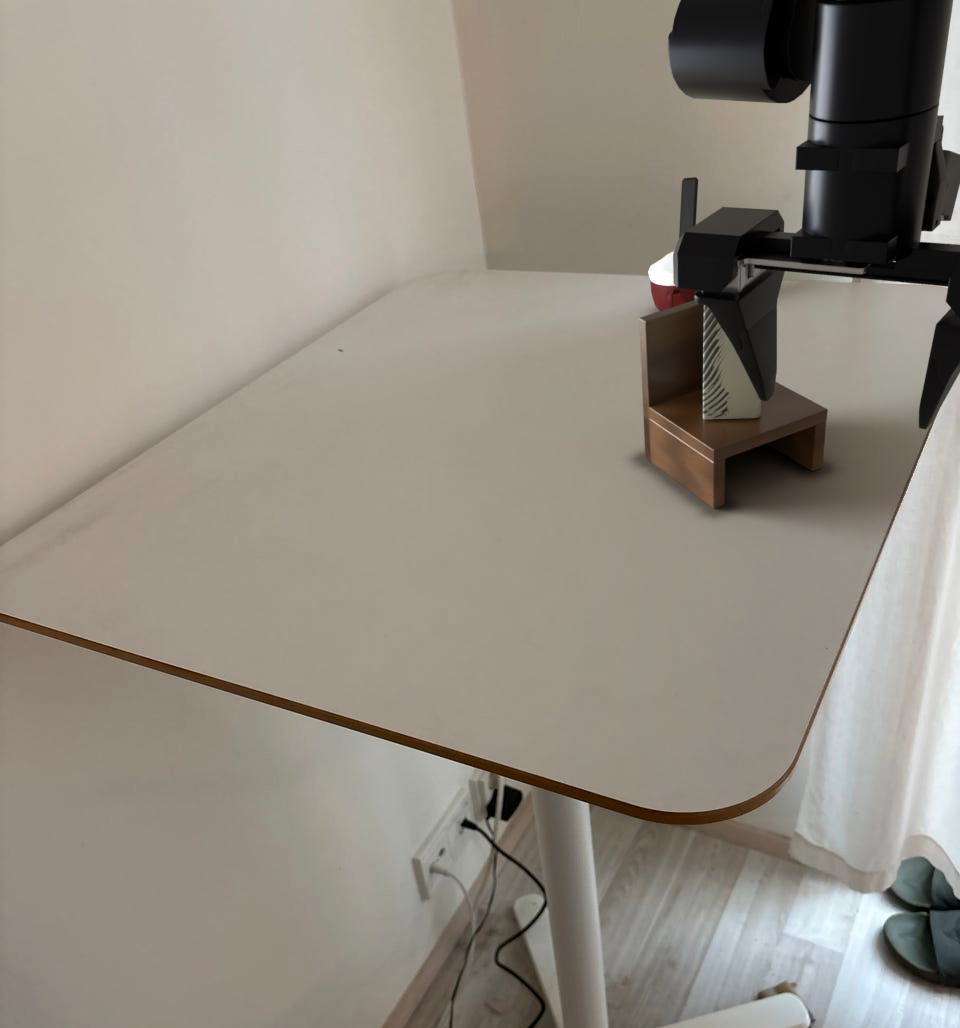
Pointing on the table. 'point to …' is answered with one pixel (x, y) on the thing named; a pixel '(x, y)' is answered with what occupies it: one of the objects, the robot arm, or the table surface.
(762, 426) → the wooden doll chair
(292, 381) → the table surface
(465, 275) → the table surface
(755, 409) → the box
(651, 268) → the cocoa
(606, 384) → the table surface
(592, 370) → the table surface
